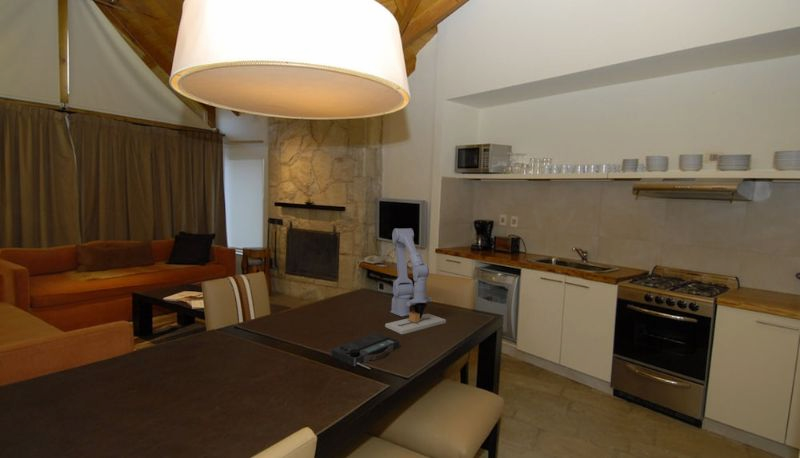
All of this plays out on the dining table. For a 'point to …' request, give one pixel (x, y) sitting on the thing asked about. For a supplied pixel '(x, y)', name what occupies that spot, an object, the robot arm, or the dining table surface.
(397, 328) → the fader console
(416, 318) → the fader tab
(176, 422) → the dining table surface
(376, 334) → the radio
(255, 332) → the dining table surface
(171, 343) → the dining table surface
